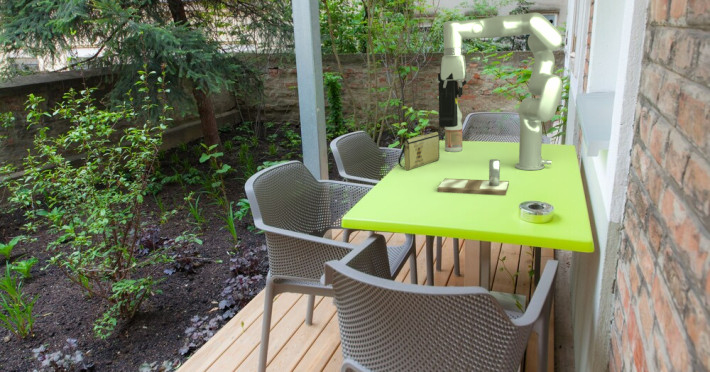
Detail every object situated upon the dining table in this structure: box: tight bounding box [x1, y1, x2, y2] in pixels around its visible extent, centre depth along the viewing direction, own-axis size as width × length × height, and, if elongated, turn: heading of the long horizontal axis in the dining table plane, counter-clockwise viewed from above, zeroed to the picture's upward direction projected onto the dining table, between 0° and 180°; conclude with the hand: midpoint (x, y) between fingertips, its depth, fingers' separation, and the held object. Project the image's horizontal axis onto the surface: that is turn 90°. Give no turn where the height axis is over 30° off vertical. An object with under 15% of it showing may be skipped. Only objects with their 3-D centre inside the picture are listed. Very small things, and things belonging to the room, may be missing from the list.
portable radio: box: [437, 66, 459, 128], centre depth 211 cm, size 8×6×25 cm
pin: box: [488, 158, 501, 186], centre depth 196 cm, size 4×4×10 cm
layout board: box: [437, 178, 510, 196], centre depth 200 cm, size 26×16×2 cm, turn 69°
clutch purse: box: [397, 131, 440, 171], centre depth 243 cm, size 30×7×15 cm, turn 137°
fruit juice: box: [444, 98, 463, 153], centre depth 272 cm, size 9×9×28 cm
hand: (453, 96), depth 209 cm, fingers open, 4 cm apart
